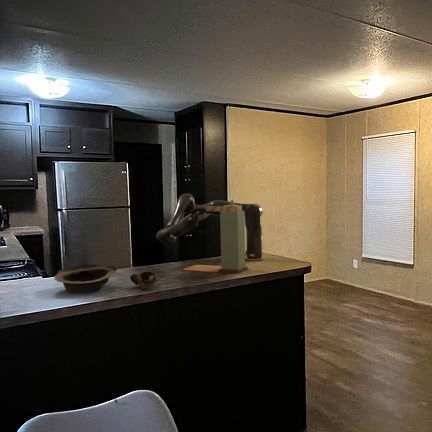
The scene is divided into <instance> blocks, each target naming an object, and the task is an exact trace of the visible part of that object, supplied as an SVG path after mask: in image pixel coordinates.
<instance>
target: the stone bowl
mask: <svg viewBox="0 0 432 432" xmlns="http://www.w3.org/2000/svg"><path fill="white" fill-rule="evenodd" d="M117 271H118V270H117V267H116V266H114V265H108V266H103V265H99V264H98V265H97V264H93V263H92V264H81V265H79V266H78V265H77V266H69V267H66V268H61V269H59V270H58V272H57V273H56V275H54V281H56V282H58V283H62V285H63V287H64V289H65V291H67V292H69V293H72V294H77V293H88V292H90V291H93V290H96V289H98V288H100V287H102V286H104V285H106V284H107V283H108V282H109V279H110V277H112V276H113V275H115V274H116V273H117Z"/></svg>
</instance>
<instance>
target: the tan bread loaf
mask: <svg viewBox="0 0 432 432" xmlns="http://www.w3.org/2000/svg"><path fill="white" fill-rule="evenodd" d="M230 202H231V205H226V206H223V207H216V206H206V207H204V208H206V210H207V211H223V212H239V211H242V205H233V202H234V200H233V199H231V201H230Z"/></svg>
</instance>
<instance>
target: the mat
mask: <svg viewBox="0 0 432 432" xmlns="http://www.w3.org/2000/svg"><path fill="white" fill-rule="evenodd" d="M219 269H221V265H211V264H210V265H209V264H193V265H191V266H187V267H185V268H182V269H181V270H182V271H186V272H201V273H213V274H216V273H220V272H219Z"/></svg>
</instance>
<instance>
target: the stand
mask: <svg viewBox="0 0 432 432" xmlns="http://www.w3.org/2000/svg"><path fill="white" fill-rule="evenodd" d="M219 222H220V224H219V225H220V227H219V228H220V263H221V264H220V266H221V269H219V272H218V273H226V274H227V273H230V274H240V273H242V272H244V271H247V270H248V269H249V267H248V265H247V266H246V256H245V253H246V226H245V214H244V211H239V212H220V216H219Z"/></svg>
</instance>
